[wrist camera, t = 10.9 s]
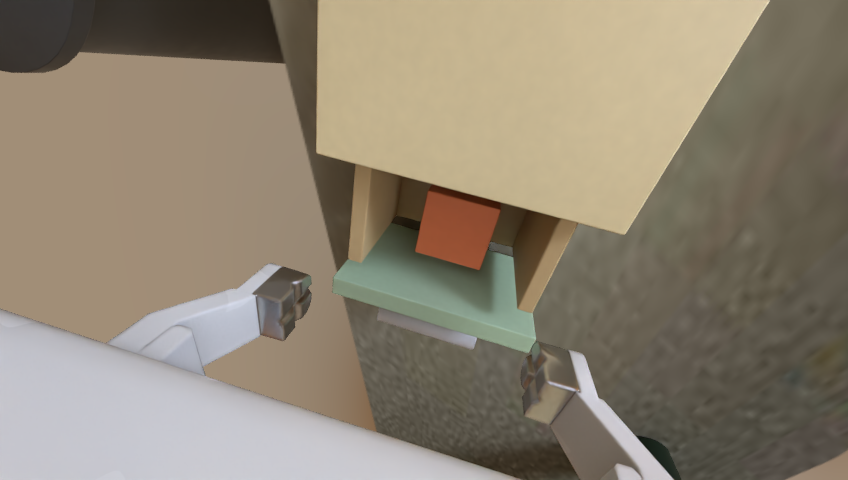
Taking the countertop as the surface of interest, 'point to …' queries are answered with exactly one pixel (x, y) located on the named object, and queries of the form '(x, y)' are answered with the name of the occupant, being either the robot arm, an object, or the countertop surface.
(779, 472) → the countertop surface
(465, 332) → the drawer
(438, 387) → the countertop surface
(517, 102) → the cabinet
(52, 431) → the robot arm
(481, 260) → the block
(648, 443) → the wine bottle
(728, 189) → the countertop surface
